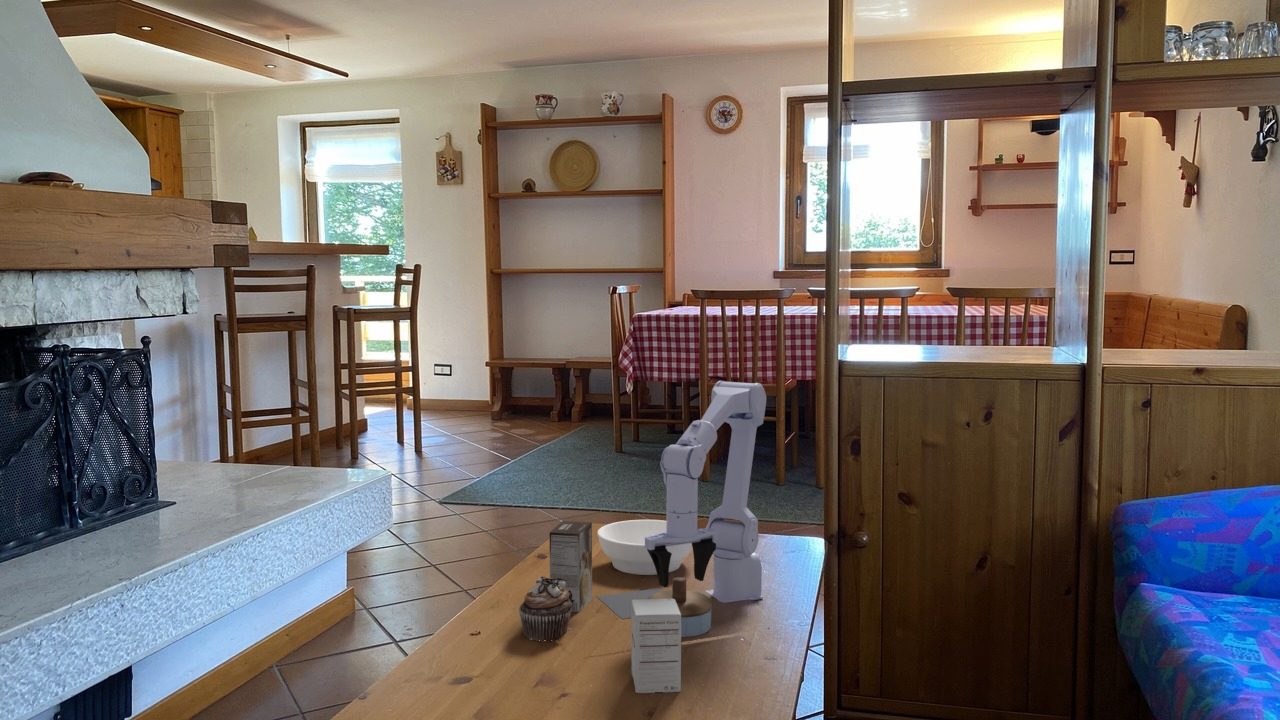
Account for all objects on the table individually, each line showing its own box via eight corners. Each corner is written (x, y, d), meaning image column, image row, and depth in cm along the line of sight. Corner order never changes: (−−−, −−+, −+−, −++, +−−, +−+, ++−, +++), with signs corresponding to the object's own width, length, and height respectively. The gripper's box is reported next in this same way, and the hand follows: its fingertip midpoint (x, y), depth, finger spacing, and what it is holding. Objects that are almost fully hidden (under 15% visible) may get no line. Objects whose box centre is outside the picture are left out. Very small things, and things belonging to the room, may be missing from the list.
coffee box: (562, 597, 185) (562, 519, 184) (592, 599, 183) (592, 521, 182) (548, 612, 176) (548, 531, 175) (580, 615, 174) (580, 533, 173)
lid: (687, 591, 177) (688, 566, 176) (724, 610, 166) (724, 583, 166) (634, 601, 170) (635, 575, 170) (669, 621, 160) (669, 594, 160)
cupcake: (523, 623, 170) (523, 571, 169) (574, 624, 170) (574, 572, 169) (514, 643, 160) (514, 587, 160) (568, 644, 160) (568, 588, 159)
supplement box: (630, 674, 148) (630, 598, 147) (675, 673, 148) (676, 597, 147) (634, 694, 140) (634, 614, 139) (681, 692, 141) (682, 613, 140)
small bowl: (694, 614, 175) (694, 594, 175) (721, 634, 165) (721, 612, 165) (642, 622, 171) (642, 601, 171) (666, 643, 161) (666, 621, 160)
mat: (659, 590, 189) (659, 587, 189) (688, 612, 176) (688, 609, 176) (596, 599, 184) (596, 596, 184) (621, 622, 171) (621, 619, 171)
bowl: (661, 548, 221) (662, 515, 220) (716, 573, 202) (716, 536, 201) (579, 562, 209) (579, 526, 209) (628, 589, 190) (629, 550, 189)
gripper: (703, 501, 173) (703, 570, 174) (636, 509, 166) (636, 582, 167) (724, 509, 167) (723, 581, 168) (655, 518, 160) (655, 593, 161)
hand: (681, 582), depth 167 cm, fingers open, 7 cm apart
